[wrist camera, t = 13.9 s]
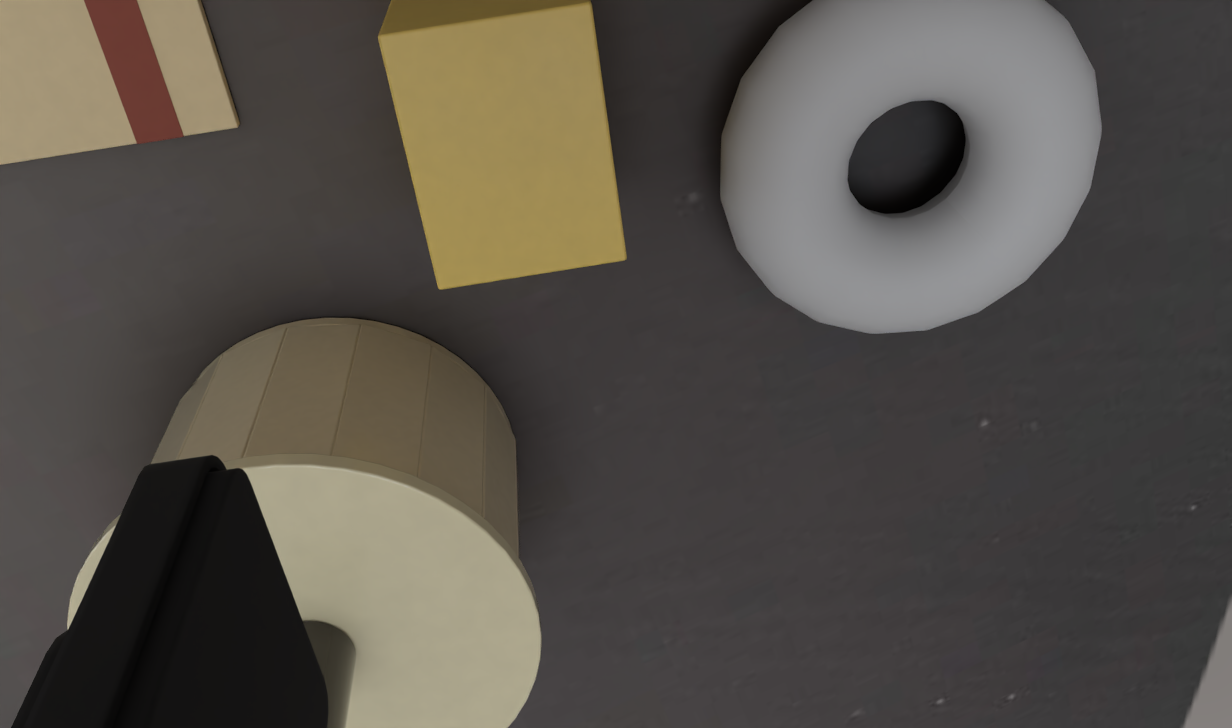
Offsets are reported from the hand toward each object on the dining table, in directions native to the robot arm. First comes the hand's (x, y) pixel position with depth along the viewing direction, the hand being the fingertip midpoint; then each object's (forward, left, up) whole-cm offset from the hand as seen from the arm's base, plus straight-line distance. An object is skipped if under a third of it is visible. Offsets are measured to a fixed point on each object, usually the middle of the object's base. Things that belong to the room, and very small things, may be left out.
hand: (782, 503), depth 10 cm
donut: (+5, +7, -21) cm, 23 cm away
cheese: (+2, -3, -21) cm, 21 cm away
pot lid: (+13, -10, -13) cm, 21 cm away
